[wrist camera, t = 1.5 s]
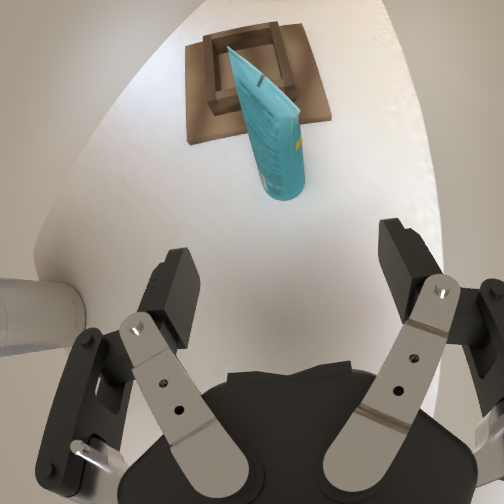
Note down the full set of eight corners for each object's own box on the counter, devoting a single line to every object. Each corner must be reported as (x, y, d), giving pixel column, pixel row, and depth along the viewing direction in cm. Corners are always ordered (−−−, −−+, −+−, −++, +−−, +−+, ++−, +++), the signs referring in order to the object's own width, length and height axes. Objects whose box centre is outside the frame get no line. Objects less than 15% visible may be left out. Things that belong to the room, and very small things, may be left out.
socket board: (190, 145, 38) (176, 128, 34) (187, 50, 41) (177, 32, 36) (330, 120, 36) (333, 99, 31) (302, 28, 38) (300, 7, 34)
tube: (320, 189, 35) (330, 87, 16) (289, 217, 35) (269, 135, 16) (277, 146, 36) (248, 31, 17) (246, 172, 36) (192, 70, 18)
